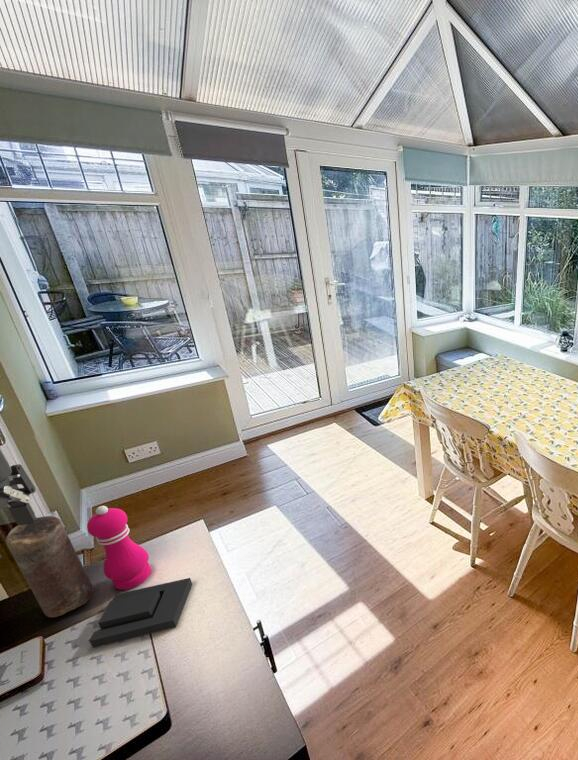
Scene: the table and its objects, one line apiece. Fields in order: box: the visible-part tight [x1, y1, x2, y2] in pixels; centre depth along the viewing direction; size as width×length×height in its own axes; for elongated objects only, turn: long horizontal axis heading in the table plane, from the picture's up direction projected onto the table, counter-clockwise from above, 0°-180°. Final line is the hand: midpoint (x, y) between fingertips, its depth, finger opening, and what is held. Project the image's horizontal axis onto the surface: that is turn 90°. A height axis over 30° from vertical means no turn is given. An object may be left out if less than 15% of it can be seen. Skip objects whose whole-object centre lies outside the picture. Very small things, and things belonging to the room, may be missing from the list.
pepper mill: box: [86, 505, 152, 591], centre depth 87 cm, size 7×7×20 cm
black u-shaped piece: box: [88, 577, 193, 649], centre depth 83 cm, size 13×10×2 cm
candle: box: [5, 515, 95, 618], centre depth 81 cm, size 8×7×20 cm
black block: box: [97, 590, 161, 630], centre depth 82 cm, size 8×5×3 cm, turn 110°
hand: (10, 541), depth 66 cm, fingers open, 8 cm apart
